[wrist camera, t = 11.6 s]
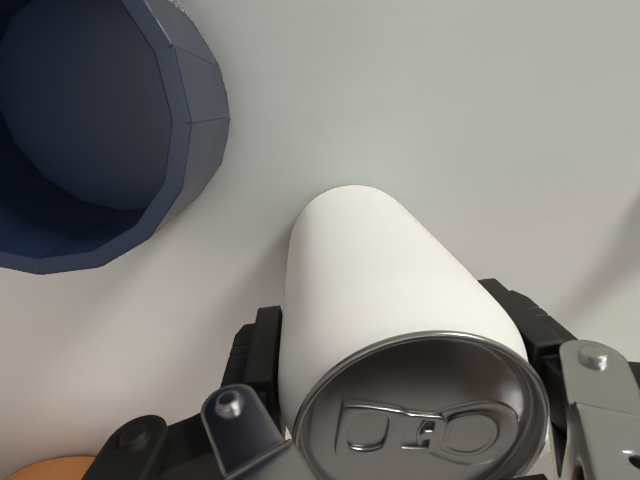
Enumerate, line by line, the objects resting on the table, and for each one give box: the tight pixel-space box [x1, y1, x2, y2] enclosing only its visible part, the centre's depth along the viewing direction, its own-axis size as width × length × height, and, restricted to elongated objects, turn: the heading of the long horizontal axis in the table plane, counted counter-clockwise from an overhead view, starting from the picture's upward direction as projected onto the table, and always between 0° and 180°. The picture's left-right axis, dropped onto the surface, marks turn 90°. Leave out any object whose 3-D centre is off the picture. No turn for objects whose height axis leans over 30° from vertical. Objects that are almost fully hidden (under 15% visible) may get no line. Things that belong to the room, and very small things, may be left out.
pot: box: [0, 0, 230, 275], centre depth 13 cm, size 10×10×6 cm
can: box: [278, 185, 551, 480], centre depth 13 cm, size 6×6×12 cm
